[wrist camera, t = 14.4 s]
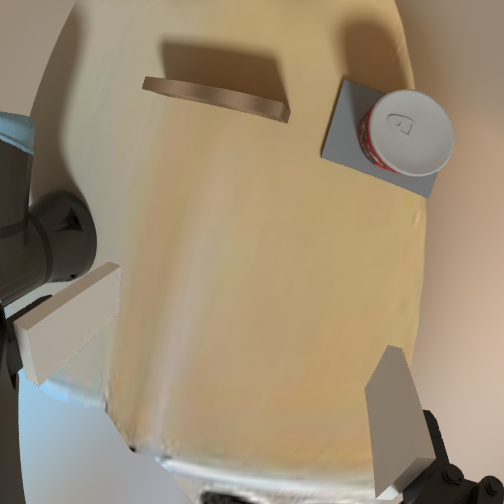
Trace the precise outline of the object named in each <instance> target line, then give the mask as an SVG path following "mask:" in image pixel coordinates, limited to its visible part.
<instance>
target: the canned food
mask: <svg viewBox="0 0 504 504" xmlns="http://www.w3.org/2000/svg"><path fill="white" fill-rule="evenodd" d="M357 136H358V143H359V146H360V148H361V150H362V152H363V154H364V155H365V156H366V158H367V159H368V160H369V161H370V162H371V163H373V164H374V165H376V166H377V167H379V168H382V169H384V170H388V171H391V172H395V173H399V174H403V175H408V176H425V175H430V174H432V173H435V172H437V171H438V170H440V169H441V168H442V167H443V166H444V165H445V164H446V163H447V162H448V160H449V158H450V156H451V154H452V151H453V147H454V130H453V126H452V123H451V121H450V119H449V116H448V115H447V113H446V111H445V110H444V109H443V107H442V106H441V105H440V104H439V103H438V102H437V101H436V100H435V99H433V98H432V97H430V96H428V95H427V94H425V93H422V92H420V91H416V90H412V89H401V90H396V91H393V92H390V93H388V94H386V95H384V96H383V97H382V98H380V99H379V100H378V101H377V102H376V103H375V104H374V105H373V106H372V107H371V108H370V109H369V111H368V112H367V113H366V114H365V115H364V116H363V117H362V119H361V121H360V123H359V126H358V133H357Z"/></svg>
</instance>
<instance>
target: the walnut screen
mask: <svg viewBox="0 0 504 504" xmlns="http://www.w3.org/2000/svg"><path fill="white" fill-rule="evenodd" d="M142 89H145V90H149V91H152V92H155V93H159V94H162V95H165V96H169V97H174V98H180V99H185V100H190V101H196V102H201V103H206V104H210V105H215V106H220V107H224V108H229V109H233V110H237V111H242V112H246V113H250V114H254V115H258V116H262V117H265V118H269V119H273V120H276V121H280V122H284V123H287V122H288V119H289V116H290V111H289V109H288V108H287V107H286V105H285V104H284V103H283V102H279V101H275V100H271V99H267V98H263V97H259V96H255V95H250V94H246V93H242V92H237V91H232V90H227V89H223V88H217V87H212V86H207V85H201V84H196V83H190V82H183V81H177V80H170V79H163V78H155V77H146V76H145V80H144V83H143V87H142Z"/></svg>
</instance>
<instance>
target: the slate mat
mask: <svg viewBox="0 0 504 504" xmlns="http://www.w3.org/2000/svg"><path fill="white" fill-rule="evenodd" d="M384 95H386V94H384V93H382V92H379V91H376V90H374V89H371V88H368V87H365V86H362V85H359V84H356V83H354V82H350V81H347V80H344V82H343V85H342V89H341V92H340V96H339V99H338V103H337V106H336V109H335V113H334V116H333V120H332V123H331V126H330V130H329V133H328V136H327V140H326V143H325V146H324V149H323V153H322V156H321V158H324V159H327V160H330V161H333V162H336V163H338V164H341V165H344V166H347V167H350V168H353V169H355V170H358V171H361V172H364V173H366V174H369V175H372V176H374V177H377V178H380V179H382V180H385V181H387V182H390V183H392V184H395V185H397V186H400V187H402V188H405V189H407V190H410V191H412V192H414V193H417V194H419V195H421V196H424V197H426V198H429V196H430V194H431V191H432V188H433V185H434V181H435V178H436V175H437V172H438V171H437V172H435V173H432V174H430V175H425V176H408V175H403V174H399V173H395V172H391V171H388V170H384V169H382V168H379V167H377V166H376V165H374V164H373V163H371V162H370V161H369V160H368V159H367V158H366V156H365V155H364V154H363V152H362V150H361V148H360V146H359V143H358V136H357V133H358V126H359V123H360V121H361V119H362V117H363V116H364V115H365V114H366V113H367V112H368V111H369V109H370V108H371V107H372V106H373V105H374V104H375V103H376V102H377V101H378V100H379V99H380V98H382V97H383V96H384Z"/></svg>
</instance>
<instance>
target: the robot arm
mask: <svg viewBox="0 0 504 504" xmlns="http://www.w3.org/2000/svg"><path fill="white" fill-rule="evenodd" d="M34 138H35V124H34V122H33V120H32V119H31V118H30V117H28V116H24V115H19V114H12V113H7V112H1V111H0V504H26V502H25V496H24V489H23V482H22V473H21V462H20V448H19V428H18V427H19V425H18V394H19V393H18V392H19V375H18V371H19V370H20V369H21V368H23V369H24V373H25V377H26V378H27V379H28V380H30V381H31V382H33V383H34V384H36V385H37V386H40V385H41V384H42V383H43V382H44V381H45V380H46V379H48V378H49V377H50V376H51V375H52V374H53V373H54V372H55V371H56V370H57V369H58V368H59V367H60V366H61V365H62V364H64V363H65V362H66V361H67V360H68V359H69V358H70V357H71V356H72V355H73V354H74V353H75V352H77V351H78V350H79V349H80V348H81V347H82V346H83V345H84V344H85V343H86V342H88V341H89V340H90V339H91V338H92V337H93V336H94V335H95V334H96V333H97V332H99V331H100V330H101V329H102V328H103V327H104V326H105V325H106V324H108V323H109V322H110V321H111V320H112V319H113V318H114V317H115V316H117V315H118V314H119V297H120V278H121V266H120V265H117V264H114V263H111V262H107V263H106V264H104V265H102V266H101V267H99V268H97V269H96V270H94V271H92V272H91V273H89V274H87V275H86V276H84V277H82V278H81V279H79V280H78V281H76V282H74V283H73V284H71V285H70V286H68V287H66V288H65V289H63V290H62V291H60V292H58V293H57V294H55V295H54V296H52V295H47V296H43V297H40V298H38V299H37V300H35V301H34V302H32V304H29V305H27V306H26V307H25V308H23V309H21V310H19V311H18V312H16V313H15V314H13V315H12V316H10V317H9V318H7V319H6V318H5V313H4V307H6V306H8V305H9V304H11V303H13V302H14V301H16V300H18V299H19V298H21V297H23V296H24V295H26V294H28V293H29V292H31V291H33V290H35V289H36V288H38V287H40V286H42V285H43V284H45V283H55V282H68V281H72V280H75V279H77V278H79V277H80V276H82V275H84V274H85V273H87V272H88V271H89V269H90V268H91V266H92V264H93V262H94V259H95V255H96V233H95V228H94V225H93V222H92V219H91V217H90V214H89V212H88V211H87V209H86V207H85V206H84V205H83V203H82V202H81V201H80V200H79V199H78V198H77V197H76V196H74V195H73V194H71V193H69V192H66V191H56V192H51V193H48V194H45V195H43V196H42V197H40V198H39V199H38V200H37V201H35V202H34V203H33V204H31V205H30V206H29V190H30V178H31V169H32V160H33V156H34V154H35V153H34ZM365 395H366V402H367V410H368V418H369V427H370V436H371V445H372V456H373V467H374V480H375V495H376V499H385V500H386V499H387V500H393V499H395V498H396V497H397V496H398V495H399V494H400V493H401V492H402V494H403V501H401V502H400V503H399V504H503V502H504V487H503V484H502V483H501V481H500V480H499V479H497V478H496V477H494V476H486V477H484V478H483V479H482V480H481V481H480V482H479V483H476V482H473V481H470V480H466V479H464V475H463V473H462V471H461V470H460V469H459V468H458V467H457V466H455V465H453V464H450V463H449V459H448V456H447V453H446V449H445V446H444V442H443V439H442V438H441V437H442V436H441V433H440V431H439V426H438V423H437V420H436V418H435V417H434V416H433V414H432V413H431V412H430V411H428V410H422V407H421V404H420V401H419V397H418V395H417V391H416V388H415V385H414V382H413V379H412V376H411V373H410V370H409V367H408V364H407V361H406V358H405V356H404V353H403V350H402V348H398V347H394V346H390V345H388V346H387V348H386V350H385V352H384V354H383V356H382V358H381V360H380V361H379V363H378V365H377V367H376V369H375V371H374V373H373V374H372V376H371V378H370V380H369V382H368V383H367V385H366V387H365Z"/></svg>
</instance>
